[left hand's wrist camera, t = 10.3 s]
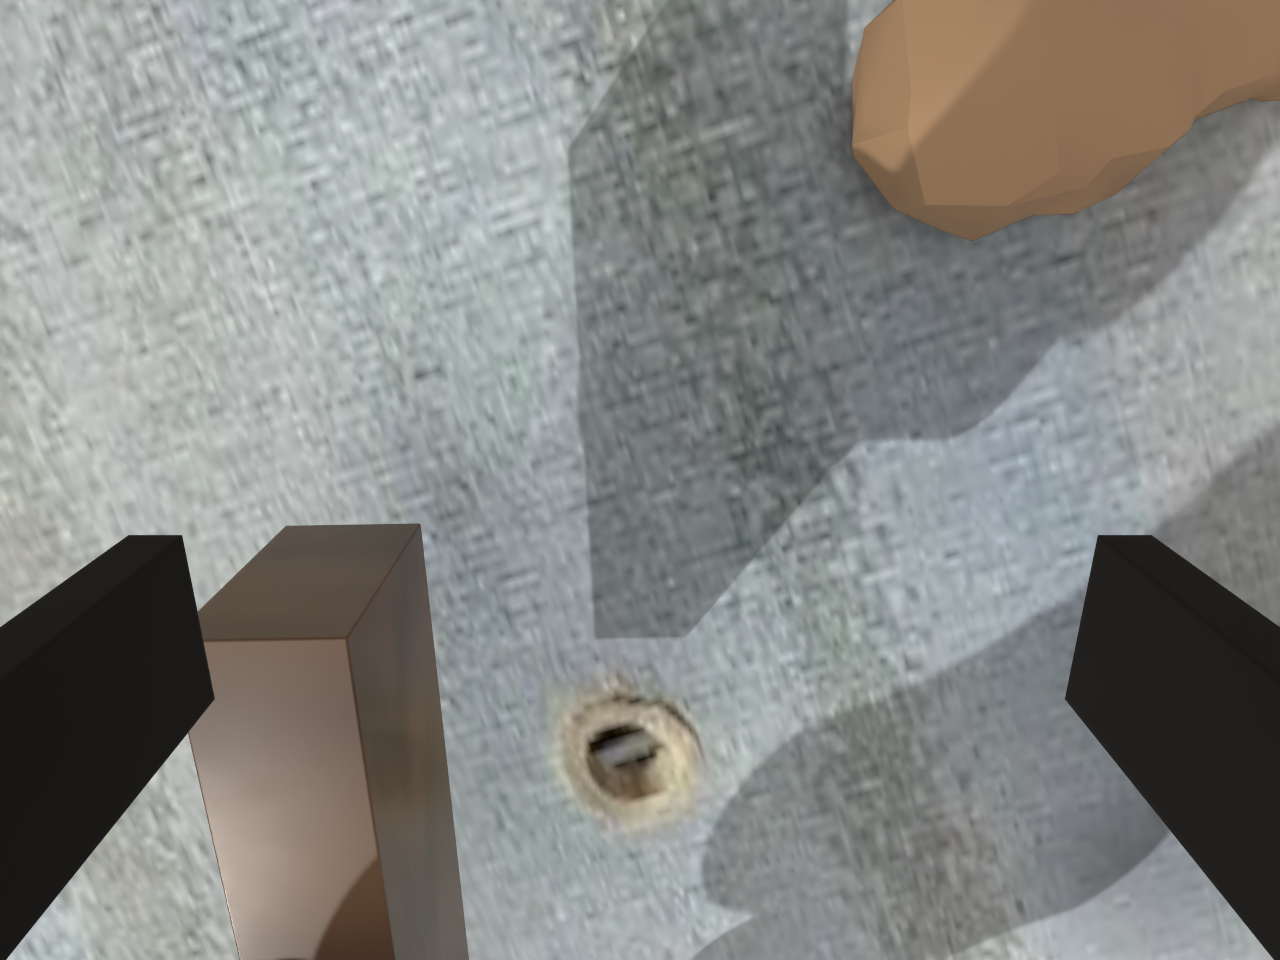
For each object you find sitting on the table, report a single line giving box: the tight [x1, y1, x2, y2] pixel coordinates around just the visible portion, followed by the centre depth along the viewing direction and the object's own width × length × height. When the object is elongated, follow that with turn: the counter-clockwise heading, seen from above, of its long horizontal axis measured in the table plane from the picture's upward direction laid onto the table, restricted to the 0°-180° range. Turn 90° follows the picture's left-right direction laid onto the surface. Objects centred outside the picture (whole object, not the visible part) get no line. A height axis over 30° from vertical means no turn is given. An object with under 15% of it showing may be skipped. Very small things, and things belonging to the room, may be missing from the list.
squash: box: [852, 0, 1280, 241], centre depth 33 cm, size 11×20×9 cm, turn 106°
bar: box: [188, 524, 469, 960], centre depth 32 cm, size 25×5×8 cm, turn 1°
